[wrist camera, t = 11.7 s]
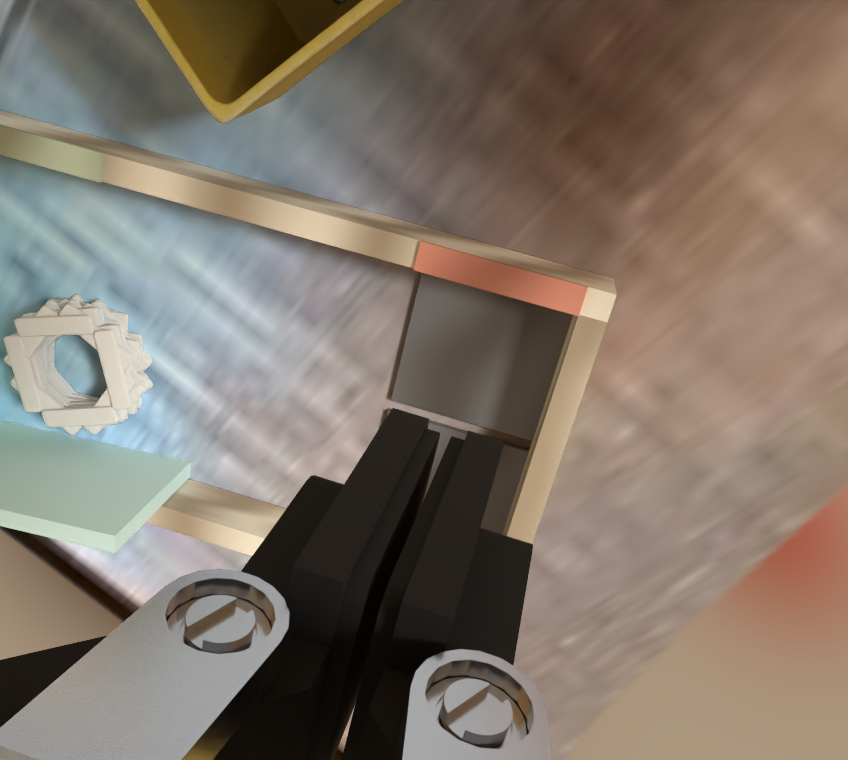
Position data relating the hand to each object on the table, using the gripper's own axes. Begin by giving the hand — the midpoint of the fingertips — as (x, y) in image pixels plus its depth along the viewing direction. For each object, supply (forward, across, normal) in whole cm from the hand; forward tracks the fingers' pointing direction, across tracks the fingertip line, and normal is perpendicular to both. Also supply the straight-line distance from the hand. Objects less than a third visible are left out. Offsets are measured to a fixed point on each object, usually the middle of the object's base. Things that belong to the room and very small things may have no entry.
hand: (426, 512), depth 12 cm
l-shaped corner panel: (+24, +21, +13) cm, 34 cm away
